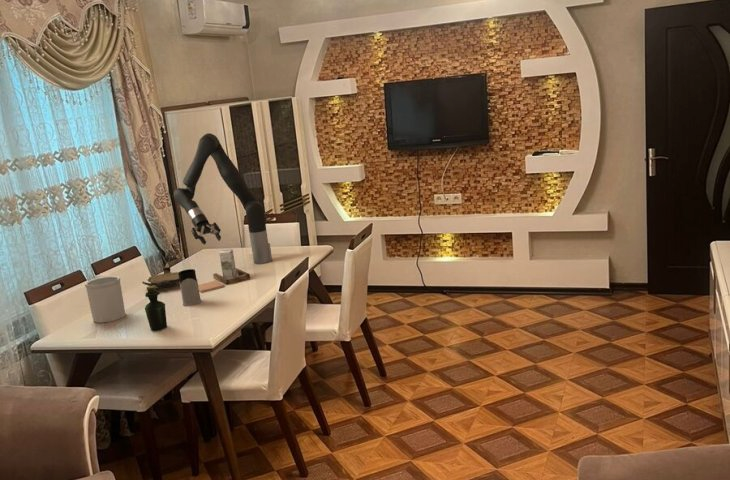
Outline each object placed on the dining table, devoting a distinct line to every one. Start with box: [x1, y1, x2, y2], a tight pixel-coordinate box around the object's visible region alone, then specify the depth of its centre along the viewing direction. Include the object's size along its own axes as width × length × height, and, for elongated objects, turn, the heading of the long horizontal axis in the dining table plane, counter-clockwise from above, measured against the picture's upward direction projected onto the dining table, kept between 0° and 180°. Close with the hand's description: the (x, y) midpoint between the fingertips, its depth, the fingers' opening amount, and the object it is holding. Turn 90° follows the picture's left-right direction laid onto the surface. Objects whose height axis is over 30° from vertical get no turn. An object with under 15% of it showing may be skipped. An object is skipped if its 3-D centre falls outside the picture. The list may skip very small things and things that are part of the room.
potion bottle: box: [144, 285, 168, 332], centre depth 294 cm, size 8×8×18 cm
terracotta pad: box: [198, 279, 226, 294], centre depth 350 cm, size 12×12×1 cm
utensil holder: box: [84, 275, 126, 324], centre depth 318 cm, size 15×15×18 cm
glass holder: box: [178, 268, 203, 307], centre depth 328 cm, size 9×14×15 cm, turn 15°
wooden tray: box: [212, 268, 251, 286], centre depth 361 cm, size 13×18×2 cm
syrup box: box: [218, 248, 238, 279], centre depth 361 cm, size 6×6×14 cm
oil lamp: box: [141, 262, 180, 289], centre depth 364 cm, size 22×30×8 cm
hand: (212, 241), depth 367 cm, fingers open, 8 cm apart
